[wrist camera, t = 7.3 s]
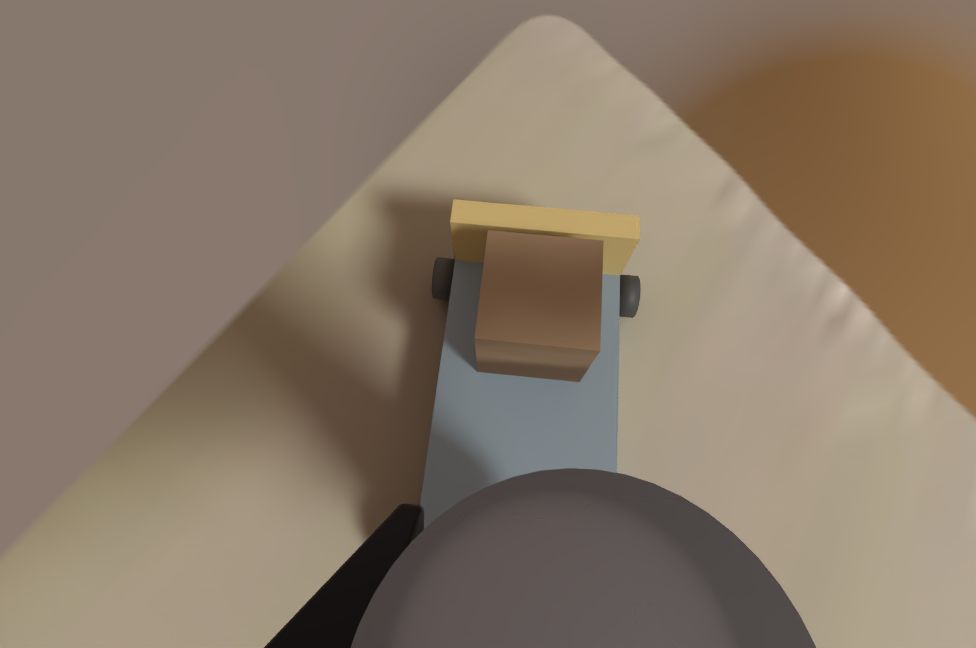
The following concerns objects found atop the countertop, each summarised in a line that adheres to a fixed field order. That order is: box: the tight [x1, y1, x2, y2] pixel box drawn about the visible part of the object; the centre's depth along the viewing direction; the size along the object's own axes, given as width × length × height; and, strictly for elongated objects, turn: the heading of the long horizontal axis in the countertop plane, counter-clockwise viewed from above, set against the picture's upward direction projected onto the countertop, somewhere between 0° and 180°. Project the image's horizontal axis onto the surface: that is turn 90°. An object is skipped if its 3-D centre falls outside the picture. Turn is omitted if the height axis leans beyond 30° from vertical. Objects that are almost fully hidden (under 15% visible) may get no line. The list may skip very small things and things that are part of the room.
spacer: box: [351, 468, 816, 648], centre depth 10 cm, size 4×4×11 cm
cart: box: [420, 199, 640, 529], centre depth 19 cm, size 14×9×5 cm, turn 174°
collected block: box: [475, 230, 604, 382], centre depth 19 cm, size 4×4×4 cm
